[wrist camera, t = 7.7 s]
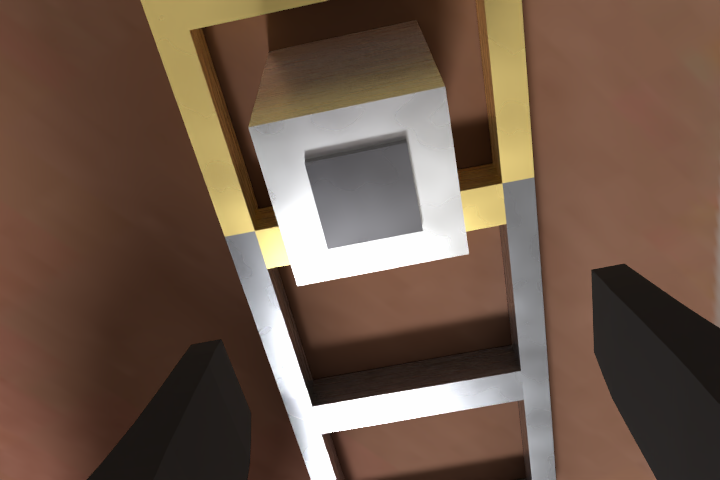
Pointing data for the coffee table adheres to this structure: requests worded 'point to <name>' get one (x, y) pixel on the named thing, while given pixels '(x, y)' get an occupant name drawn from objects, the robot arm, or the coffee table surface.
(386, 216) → the block
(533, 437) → the yellow grey ladder frame
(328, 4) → the coffee table surface
